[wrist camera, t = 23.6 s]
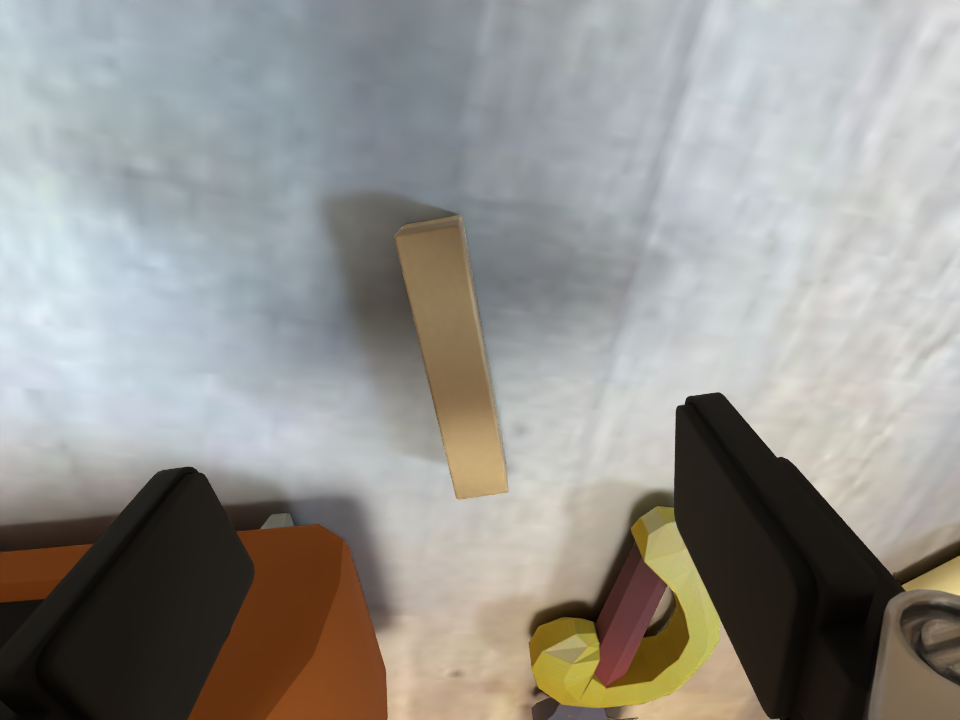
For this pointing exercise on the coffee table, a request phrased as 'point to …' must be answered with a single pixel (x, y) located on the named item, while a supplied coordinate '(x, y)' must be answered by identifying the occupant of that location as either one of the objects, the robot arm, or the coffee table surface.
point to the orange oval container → (260, 627)
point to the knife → (628, 633)
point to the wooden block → (454, 352)
